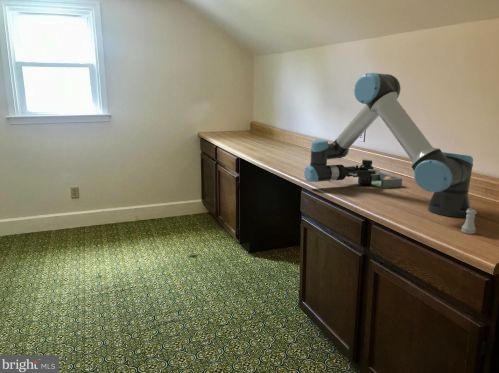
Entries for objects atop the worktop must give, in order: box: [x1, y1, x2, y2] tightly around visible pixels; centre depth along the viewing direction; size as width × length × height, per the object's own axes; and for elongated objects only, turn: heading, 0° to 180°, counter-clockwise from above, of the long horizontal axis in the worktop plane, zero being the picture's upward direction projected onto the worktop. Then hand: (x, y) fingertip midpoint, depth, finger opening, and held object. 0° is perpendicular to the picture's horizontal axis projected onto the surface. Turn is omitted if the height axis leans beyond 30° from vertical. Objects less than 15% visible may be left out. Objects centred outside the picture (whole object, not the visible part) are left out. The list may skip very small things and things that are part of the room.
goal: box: [371, 171, 403, 189], centre depth 208 cm, size 12×17×4 cm
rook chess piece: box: [460, 208, 478, 235], centre depth 138 cm, size 4×4×8 cm
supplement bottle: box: [357, 159, 375, 186], centre depth 203 cm, size 7×7×12 cm
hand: (374, 170), depth 205 cm, fingers closed on supplement bottle, 7 cm apart
